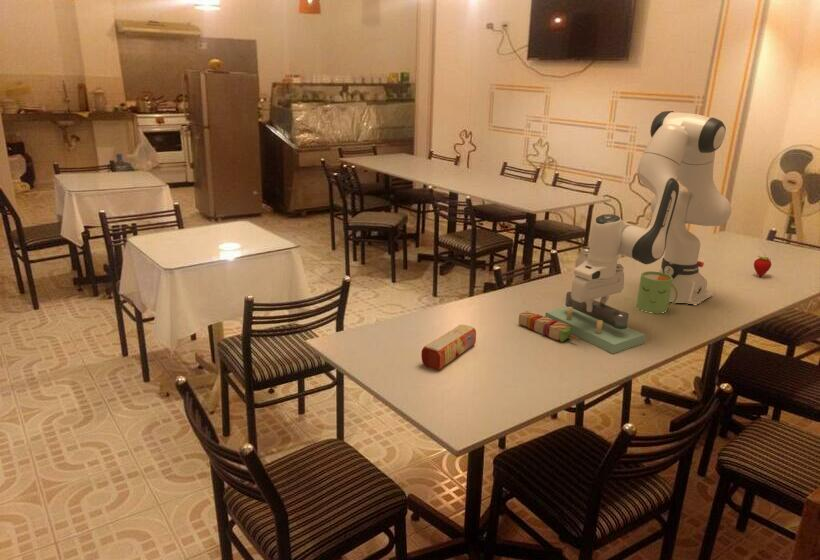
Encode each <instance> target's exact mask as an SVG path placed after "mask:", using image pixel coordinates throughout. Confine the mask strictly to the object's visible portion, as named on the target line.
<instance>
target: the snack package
mask: <svg viewBox="0 0 820 560" xmlns="http://www.w3.org/2000/svg"><path fill="white" fill-rule="evenodd" d="M476 343H477V330H476V329H475V327H473V326H471V325H467V324H459V325H458V326H456V327H455V328H453V329H452V330H449V331H448V332H446V333H444V334H443V335H442V336H439V338H437V339H436V340H433V341H431V342H430V343H428V344H427V345H425V346H424V347H422V350H421V353H420V354H421V362H422V364H423V365H424V366H425V367H426V368H428V369H432V370H435V371H440V370H441V369H443V367H445V366H447V365H448V364H449V363H451V362H452V361H453V360H455V359H456V358H457V357H459V356H460V355H461V354H464V352H466V351H467V350H468V349H470V348H471V347H474V346H475V344H476Z"/></svg>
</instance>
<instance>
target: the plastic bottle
mask: <svg viewBox="0 0 820 560" xmlns="http://www.w3.org/2000/svg"><path fill="white" fill-rule="evenodd" d="M589 251H590V246H582V247H580V255H579V256H578V257H577V258H576V260H575V262H574V263H575V265H574V266H575V267H574V269H575V268H576V267H578V266H580V265H581V264H582V263H584V262H585V261H586V260H587V257H588V254H589ZM575 276H577V275H575ZM575 276H574V277H575Z"/></svg>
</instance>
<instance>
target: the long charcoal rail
mask: <svg viewBox="0 0 820 560" xmlns="http://www.w3.org/2000/svg"><path fill="white" fill-rule="evenodd" d="M564 305H565V307H573V309H575V310H577V311H580V312H582V313H584V314H586V315H589V316H591V317H593V318H595V319H598V320H602V321H603V322H605V323H607V324H609V325H611V326H613V327H614V328H617V329H626V328H627V327H628V323H629V317H630V314H629V313H628V312H627V311H621V310H619V309H617V308H614V307H612V306H610V305H607V304H602V303H600V301H598V300H596V299H593V302H592V306H594V311H593V312H588V311H587V310H586V309H587V305H586V303H585V302H582V303H579V302H577V301H574V300H573V299H572V297H571V291H568V292H566V295H565V304H564Z"/></svg>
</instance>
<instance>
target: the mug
mask: <svg viewBox="0 0 820 560" xmlns="http://www.w3.org/2000/svg"><path fill="white" fill-rule="evenodd" d="M672 280H673V277H672V276H670V275H668V274H665V273H661V272H658V271H652V270H651V271H643V272H641V275H640V281H639V285H638V287H639V288H638V293H637V298H636V300H637V301H636V306H637V307H638V308H639V309H641V310H643V311H647V312H652V313H662V312H665V311H667V312H668V307H670V306H672V305H674V304H676V303H675V301H676V300H677V297H678V292H677V289H676V287H675V286H674V285H673V284H672ZM671 286H672V287H673V288H674V289H675V292H676V297H675V299H674V301H673V302H672V303H670V302H669V297H670V291H671ZM636 306H635V307H636ZM637 307H636V308H637ZM639 309H638V310H639ZM641 310H640V311H641ZM643 311H642V312H643Z"/></svg>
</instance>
